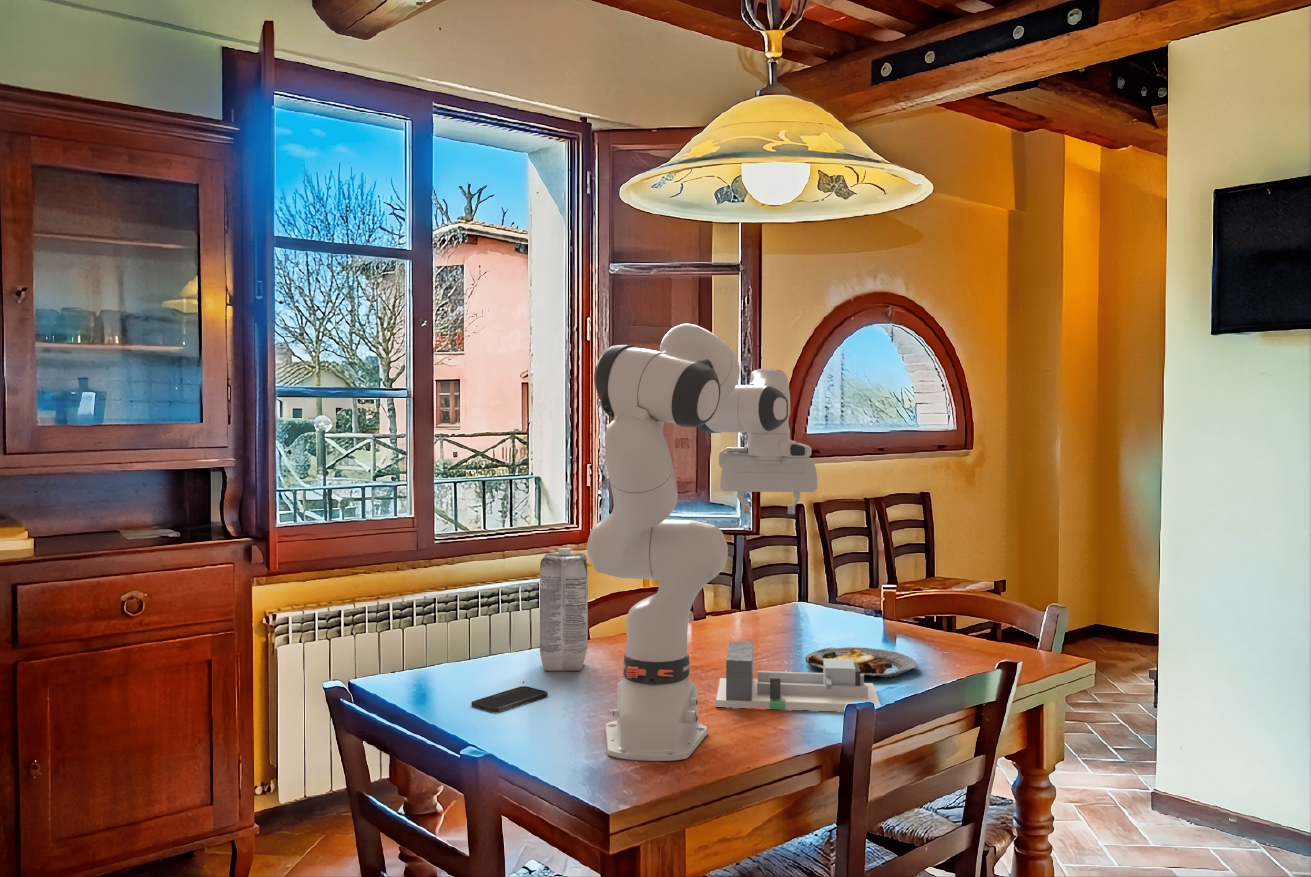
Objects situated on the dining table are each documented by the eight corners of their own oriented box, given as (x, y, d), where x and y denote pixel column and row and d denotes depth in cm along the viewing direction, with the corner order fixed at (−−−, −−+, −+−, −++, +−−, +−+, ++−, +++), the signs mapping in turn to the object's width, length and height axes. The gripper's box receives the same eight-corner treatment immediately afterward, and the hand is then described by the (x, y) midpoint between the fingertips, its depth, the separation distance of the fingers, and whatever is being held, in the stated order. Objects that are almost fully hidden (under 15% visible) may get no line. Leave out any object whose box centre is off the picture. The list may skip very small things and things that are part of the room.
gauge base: (881, 714, 193) (881, 696, 193) (715, 707, 197) (715, 690, 197) (872, 690, 209) (872, 673, 209) (720, 685, 213) (720, 668, 213)
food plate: (865, 688, 210) (866, 672, 210) (784, 667, 228) (784, 652, 228) (935, 671, 226) (936, 656, 226) (854, 653, 244) (855, 638, 244)
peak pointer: (780, 701, 195) (780, 681, 195) (770, 701, 195) (770, 680, 195) (780, 694, 200) (780, 674, 200) (770, 694, 200) (770, 674, 200)
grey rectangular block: (751, 701, 196) (751, 661, 196) (726, 700, 197) (726, 660, 196) (752, 679, 212) (753, 641, 212) (729, 678, 213) (729, 641, 212)
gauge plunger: (862, 701, 195) (862, 676, 195) (826, 700, 196) (826, 675, 196) (857, 684, 208) (857, 660, 207) (823, 682, 208) (823, 659, 208)
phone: (550, 692, 205) (495, 709, 193) (550, 697, 205) (495, 715, 193) (523, 685, 210) (468, 702, 198) (523, 690, 210) (468, 707, 198)
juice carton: (585, 672, 223) (585, 552, 222) (538, 672, 222) (538, 552, 222) (588, 662, 231) (588, 546, 231) (542, 662, 231) (542, 546, 230)
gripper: (718, 447, 206) (717, 514, 207) (818, 448, 204) (817, 515, 204) (719, 446, 212) (719, 511, 213) (816, 447, 210) (816, 512, 211)
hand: (768, 513), depth 209 cm, fingers open, 8 cm apart
